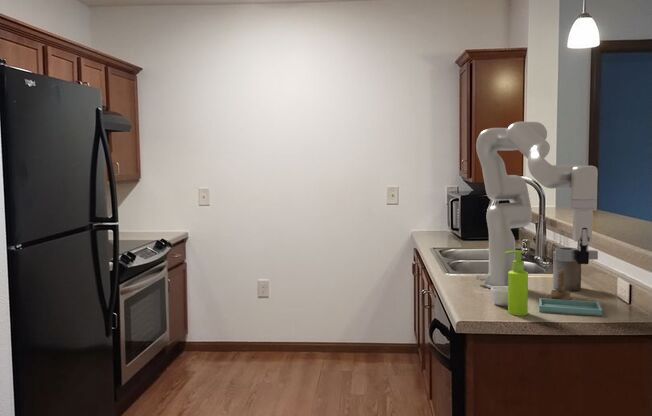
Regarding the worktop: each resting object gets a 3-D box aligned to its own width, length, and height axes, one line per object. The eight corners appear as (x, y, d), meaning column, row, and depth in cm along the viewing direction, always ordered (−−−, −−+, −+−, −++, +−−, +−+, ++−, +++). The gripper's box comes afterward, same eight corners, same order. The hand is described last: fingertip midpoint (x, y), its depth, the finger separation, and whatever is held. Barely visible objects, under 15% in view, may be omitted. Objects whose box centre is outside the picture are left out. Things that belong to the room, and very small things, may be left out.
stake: (548, 303, 189) (549, 271, 188) (547, 298, 197) (548, 266, 196) (574, 305, 187) (575, 272, 186) (572, 299, 194) (573, 268, 193)
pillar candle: (583, 287, 212) (583, 247, 211) (578, 292, 204) (578, 251, 203) (555, 284, 217) (556, 245, 216) (550, 289, 209) (550, 249, 208)
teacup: (519, 306, 187) (519, 290, 186) (497, 308, 185) (497, 291, 185) (504, 299, 197) (504, 283, 196) (483, 300, 195) (483, 285, 195)
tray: (539, 311, 180) (539, 305, 180) (538, 303, 190) (539, 298, 190) (601, 316, 174) (602, 310, 174) (598, 307, 184) (598, 301, 183)
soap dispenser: (501, 311, 182) (502, 249, 180) (522, 310, 182) (523, 248, 180) (509, 316, 176) (509, 252, 174) (530, 315, 176) (531, 251, 175)
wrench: (555, 261, 179) (555, 250, 178) (555, 257, 185) (555, 247, 184) (598, 262, 175) (598, 251, 174) (596, 258, 181) (596, 247, 180)
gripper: (569, 202, 186) (568, 258, 188) (572, 207, 171) (571, 267, 173) (594, 203, 184) (592, 259, 185) (599, 207, 169) (598, 268, 170)
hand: (582, 262), depth 179 cm, fingers closed on wrench, 2 cm apart
